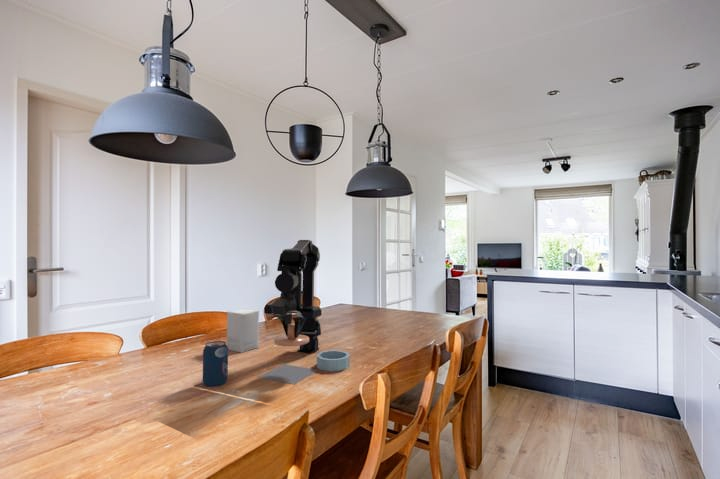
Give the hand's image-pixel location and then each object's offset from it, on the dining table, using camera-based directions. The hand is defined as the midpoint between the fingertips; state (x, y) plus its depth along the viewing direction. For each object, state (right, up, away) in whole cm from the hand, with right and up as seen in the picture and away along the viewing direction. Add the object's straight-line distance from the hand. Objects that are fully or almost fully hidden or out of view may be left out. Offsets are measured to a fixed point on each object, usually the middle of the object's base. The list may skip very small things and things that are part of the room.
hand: (292, 337), depth 119 cm
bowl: (+13, -12, +7) cm, 19 cm away
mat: (-1, -12, -1) cm, 12 cm away
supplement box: (-25, -12, +29) cm, 40 cm away
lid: (0, -1, 0) cm, 1 cm away
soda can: (-21, -12, -9) cm, 26 cm away
